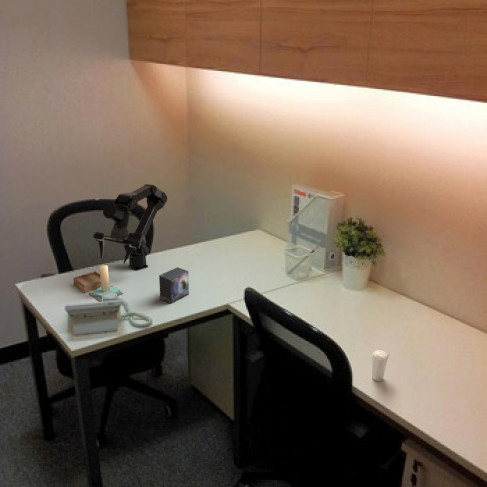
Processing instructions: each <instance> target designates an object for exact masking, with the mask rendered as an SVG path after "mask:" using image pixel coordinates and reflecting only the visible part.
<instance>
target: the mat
mask: <svg viewBox="0 0 487 487" xmlns="http://www.w3.org/2000/svg"><path fill="white" fill-rule="evenodd" d="M110 286H111V287H114V286H113V285H110ZM92 292H93V291H91V292H88V293H89V295H90V296H91V297H92V298H94V299H96V300H97V301H98V302H103V301H102V298H101V297H97V296H93V295H91V293H92ZM123 294H124V293H123V292H122V291H120V292H118V293H117V296H116V297H118V296H119V297H120V296H122V295H123Z"/></svg>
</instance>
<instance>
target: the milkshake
mask: <svg viewBox="0 0 487 487" xmlns="http://www.w3.org/2000/svg"><path fill="white" fill-rule="evenodd" d="M371 355H372V356H371V357H372V358H371V359H372V360H371V361H372V362H371V364H372V367H371V378H372V380H373V381H375V382H383V380H384V377H385V372H386V366H387V362H388V359H389V356H390V354H387V352H385V351H384V350H381V349H380V350H379V349H377V350H375V351H373V352H372V354H371Z"/></svg>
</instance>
